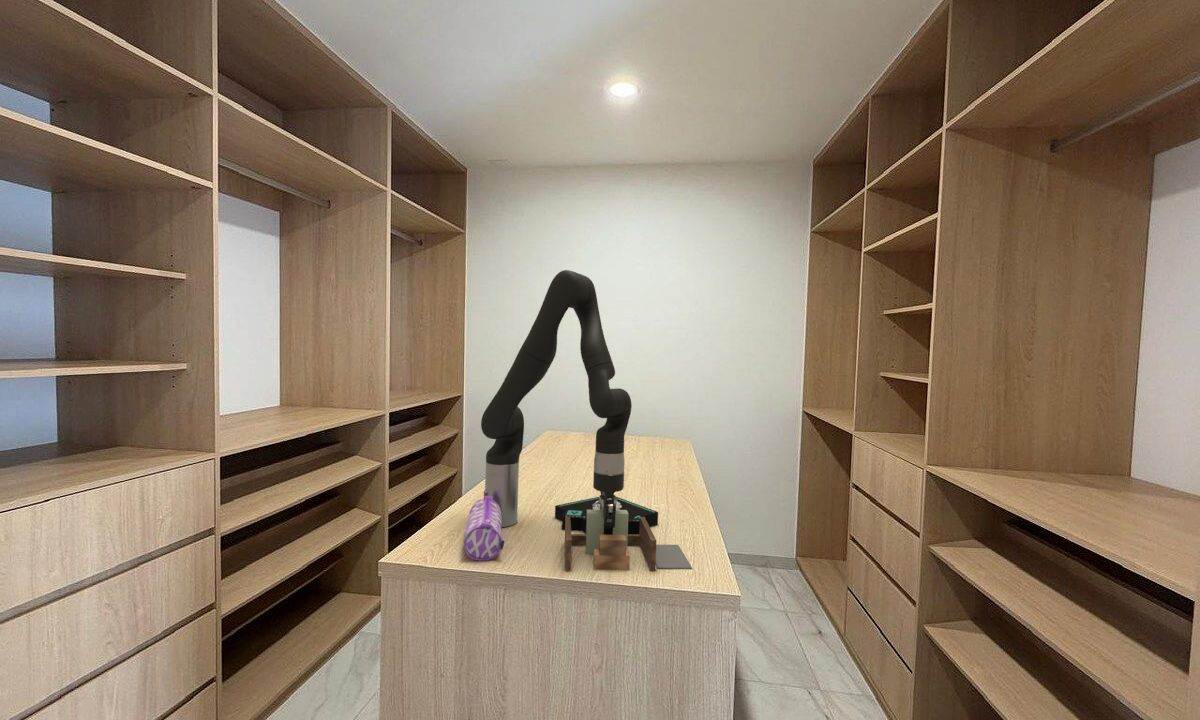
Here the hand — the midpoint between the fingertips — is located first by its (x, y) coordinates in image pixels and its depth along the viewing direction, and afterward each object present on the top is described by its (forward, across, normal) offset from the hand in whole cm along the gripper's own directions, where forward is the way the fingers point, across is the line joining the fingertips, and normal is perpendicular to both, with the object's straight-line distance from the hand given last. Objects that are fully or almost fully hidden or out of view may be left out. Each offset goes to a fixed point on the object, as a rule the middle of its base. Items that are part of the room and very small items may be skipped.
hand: (606, 537), depth 128 cm
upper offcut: (0, +9, 0) cm, 9 cm away
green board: (+4, 0, 0) cm, 4 cm away
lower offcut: (+4, +9, 0) cm, 9 cm away
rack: (+3, +3, 0) cm, 5 cm away
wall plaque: (+4, -22, +2) cm, 23 cm away
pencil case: (+4, -4, -30) cm, 31 cm away
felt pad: (+3, +3, +15) cm, 16 cm away
